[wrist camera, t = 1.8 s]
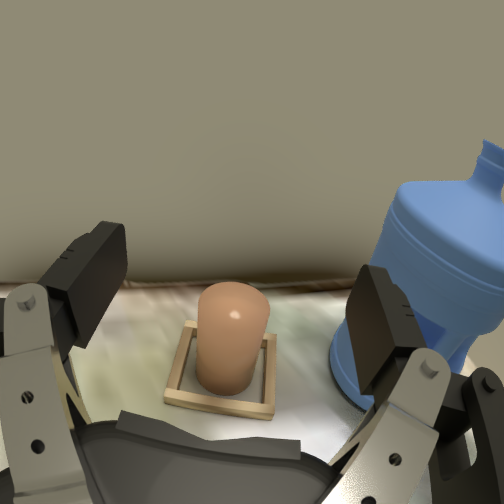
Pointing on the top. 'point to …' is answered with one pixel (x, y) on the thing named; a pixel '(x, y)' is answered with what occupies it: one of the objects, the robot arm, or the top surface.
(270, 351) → the wooden frame
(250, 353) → the pillar candle
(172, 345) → the top surface
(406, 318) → the robot arm
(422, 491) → the top surface
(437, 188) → the water jug
